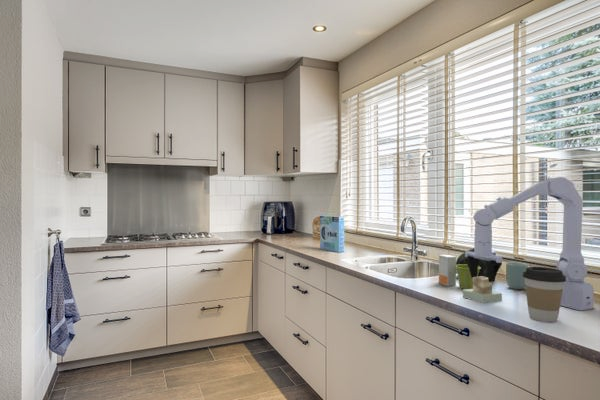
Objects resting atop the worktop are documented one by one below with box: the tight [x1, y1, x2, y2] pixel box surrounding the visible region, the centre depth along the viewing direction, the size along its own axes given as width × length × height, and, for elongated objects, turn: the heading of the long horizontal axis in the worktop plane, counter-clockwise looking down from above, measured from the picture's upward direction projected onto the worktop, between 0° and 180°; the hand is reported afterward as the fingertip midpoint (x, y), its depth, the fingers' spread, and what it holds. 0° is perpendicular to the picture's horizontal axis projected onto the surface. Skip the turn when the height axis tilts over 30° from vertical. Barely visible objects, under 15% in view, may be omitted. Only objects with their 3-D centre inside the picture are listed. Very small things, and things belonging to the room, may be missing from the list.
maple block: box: [473, 276, 493, 294], centre depth 141 cm, size 4×4×5 cm
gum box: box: [319, 215, 345, 253], centre depth 258 cm, size 20×5×23 cm, turn 36°
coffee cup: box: [523, 266, 566, 324], centre depth 118 cm, size 11×11×15 cm
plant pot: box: [456, 264, 481, 290], centre depth 157 cm, size 9×9×9 cm
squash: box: [456, 247, 490, 277], centre depth 173 cm, size 14×15×15 cm
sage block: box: [462, 289, 503, 304], centre depth 141 cm, size 9×9×3 cm
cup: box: [505, 261, 529, 291], centre depth 157 cm, size 8×8×10 cm
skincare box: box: [438, 254, 457, 287], centre depth 163 cm, size 6×4×12 cm
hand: (482, 279), depth 141 cm, fingers open, 7 cm apart
